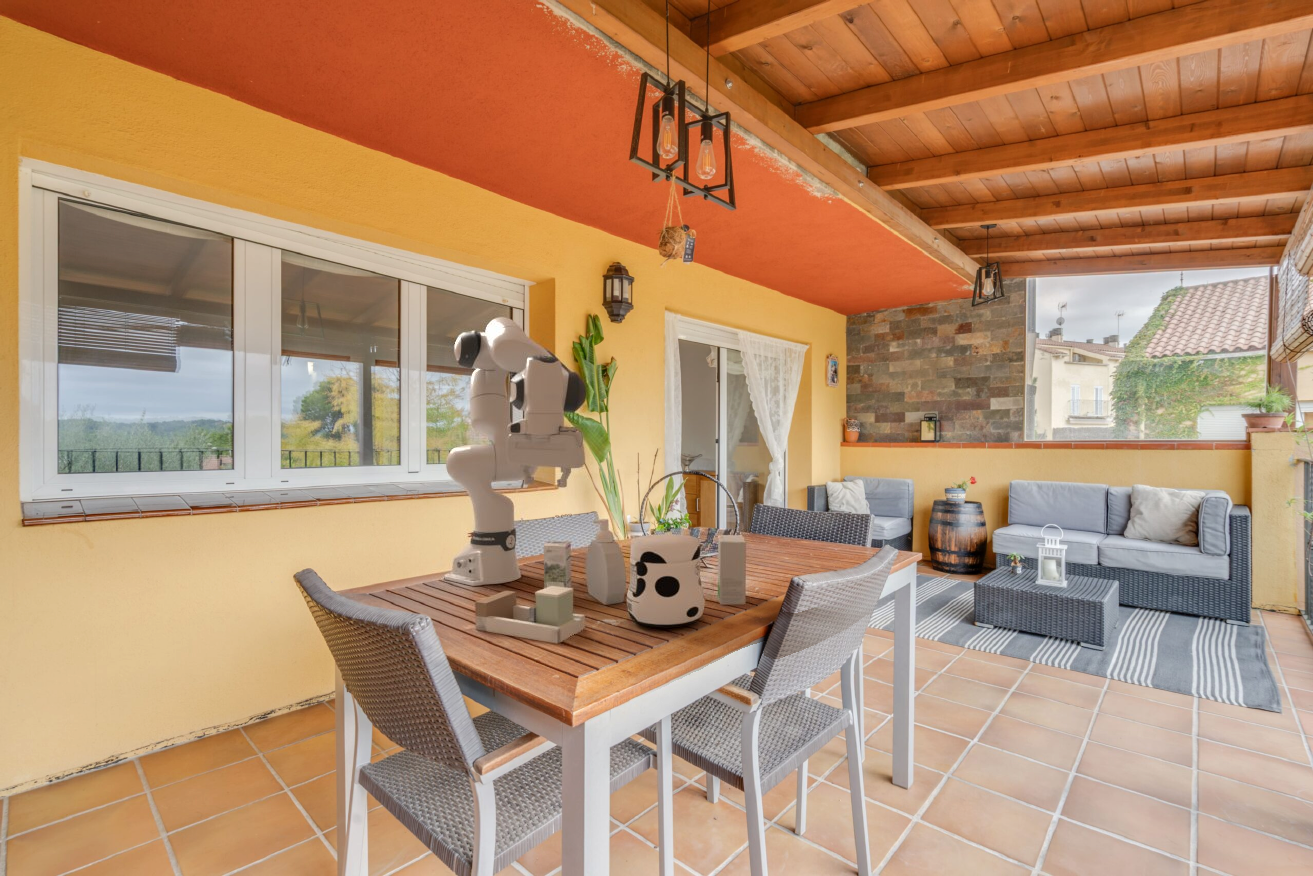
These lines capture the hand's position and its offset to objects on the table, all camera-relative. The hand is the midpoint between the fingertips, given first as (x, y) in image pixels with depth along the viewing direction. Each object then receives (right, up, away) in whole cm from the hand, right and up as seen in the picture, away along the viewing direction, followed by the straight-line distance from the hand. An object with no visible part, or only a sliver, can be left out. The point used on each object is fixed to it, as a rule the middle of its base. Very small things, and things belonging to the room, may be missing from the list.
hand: (545, 485), depth 142 cm
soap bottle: (+13, -30, +13) cm, 35 cm away
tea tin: (+4, -30, -13) cm, 33 cm away
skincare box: (+45, -29, +9) cm, 54 cm away
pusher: (0, -30, -11) cm, 32 cm away
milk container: (+28, -30, -6) cm, 41 cm away
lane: (-1, -30, -10) cm, 32 cm away
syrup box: (+1, -30, +12) cm, 32 cm away
